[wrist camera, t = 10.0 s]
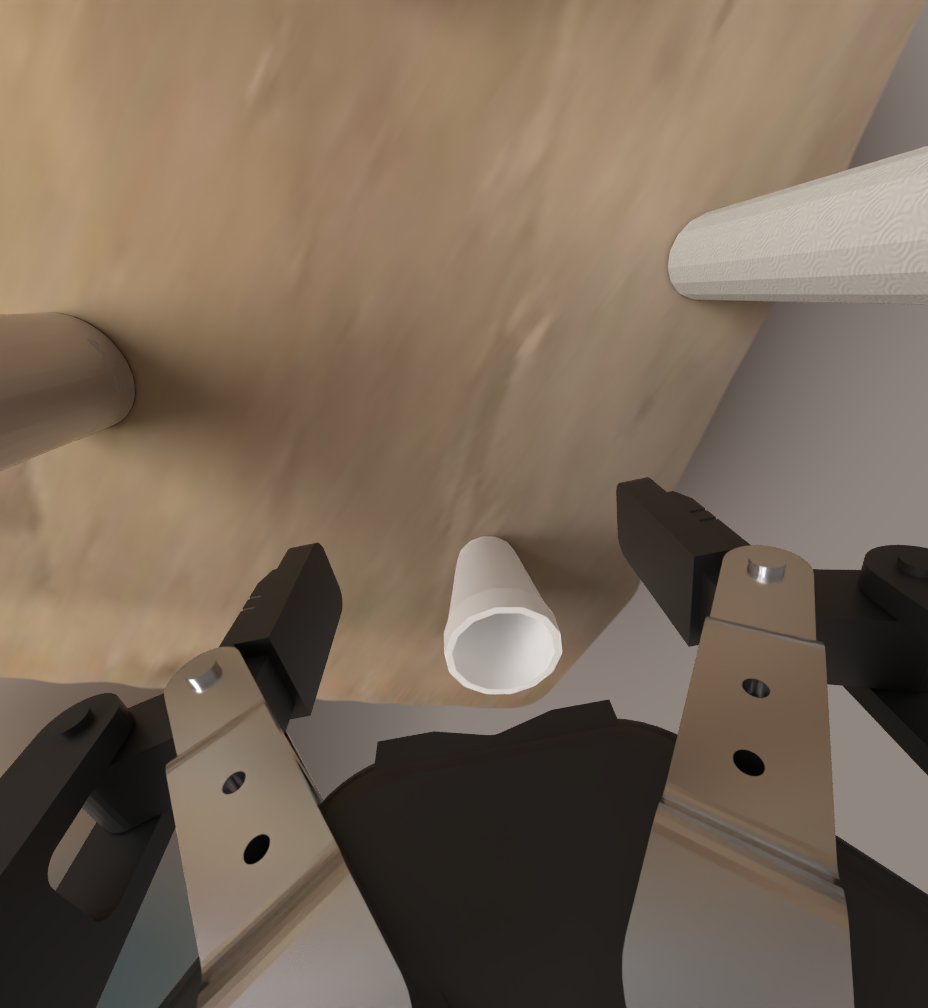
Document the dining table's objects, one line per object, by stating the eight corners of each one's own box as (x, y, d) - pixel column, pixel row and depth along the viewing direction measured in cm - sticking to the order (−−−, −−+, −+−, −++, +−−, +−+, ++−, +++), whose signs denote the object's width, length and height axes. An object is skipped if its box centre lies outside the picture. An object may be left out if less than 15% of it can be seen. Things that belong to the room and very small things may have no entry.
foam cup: (435, 531, 44) (434, 618, 32) (524, 515, 43) (556, 596, 32) (452, 603, 48) (457, 703, 36) (534, 588, 48) (565, 684, 36)
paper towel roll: (652, 248, 33) (941, 188, 14) (724, 192, 32) (1150, 43, 13) (689, 327, 36) (972, 365, 17) (757, 279, 35) (1147, 261, 16)
